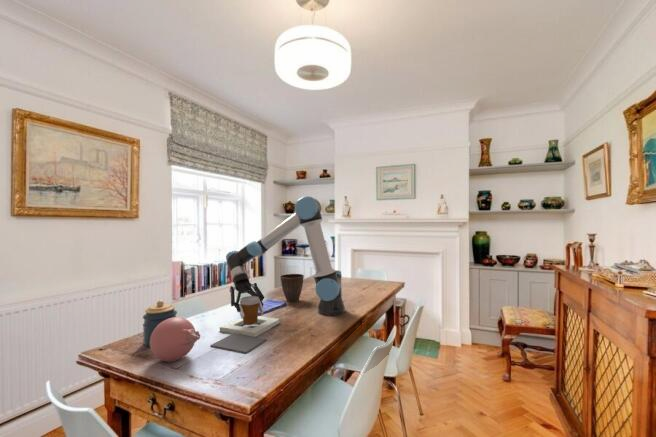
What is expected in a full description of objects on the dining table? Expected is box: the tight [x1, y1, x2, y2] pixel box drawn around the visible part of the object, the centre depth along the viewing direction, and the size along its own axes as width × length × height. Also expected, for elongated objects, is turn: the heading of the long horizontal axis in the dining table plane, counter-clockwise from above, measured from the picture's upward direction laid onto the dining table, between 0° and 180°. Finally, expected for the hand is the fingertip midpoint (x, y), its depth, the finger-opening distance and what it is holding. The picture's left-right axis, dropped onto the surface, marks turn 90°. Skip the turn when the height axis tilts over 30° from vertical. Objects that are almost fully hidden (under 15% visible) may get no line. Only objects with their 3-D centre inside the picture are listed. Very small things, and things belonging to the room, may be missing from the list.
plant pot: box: [279, 273, 305, 303], centre depth 195 cm, size 15×15×16 cm
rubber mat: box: [210, 333, 268, 354], centre depth 129 cm, size 18×14×1 cm
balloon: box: [149, 316, 201, 362], centre depth 114 cm, size 15×20×15 cm
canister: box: [142, 300, 178, 348], centre depth 132 cm, size 13×13×18 cm
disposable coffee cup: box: [239, 295, 260, 326], centre depth 148 cm, size 10×10×12 cm
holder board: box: [219, 315, 280, 337], centre depth 148 cm, size 20×20×2 cm
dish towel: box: [258, 299, 287, 316], centre depth 180 cm, size 17×24×3 cm
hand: (252, 315), depth 146 cm, fingers closed on disposable coffee cup, 9 cm apart
